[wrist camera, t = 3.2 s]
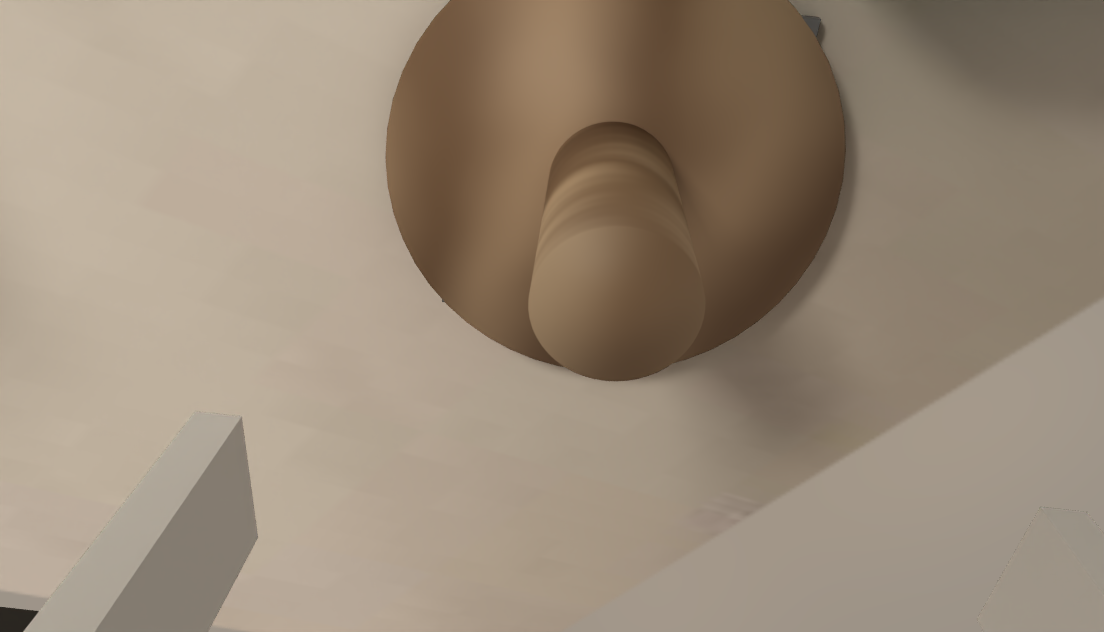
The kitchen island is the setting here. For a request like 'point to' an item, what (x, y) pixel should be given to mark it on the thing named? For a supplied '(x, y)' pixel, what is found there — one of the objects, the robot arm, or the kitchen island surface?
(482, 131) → the lid
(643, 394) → the kitchen island surface
